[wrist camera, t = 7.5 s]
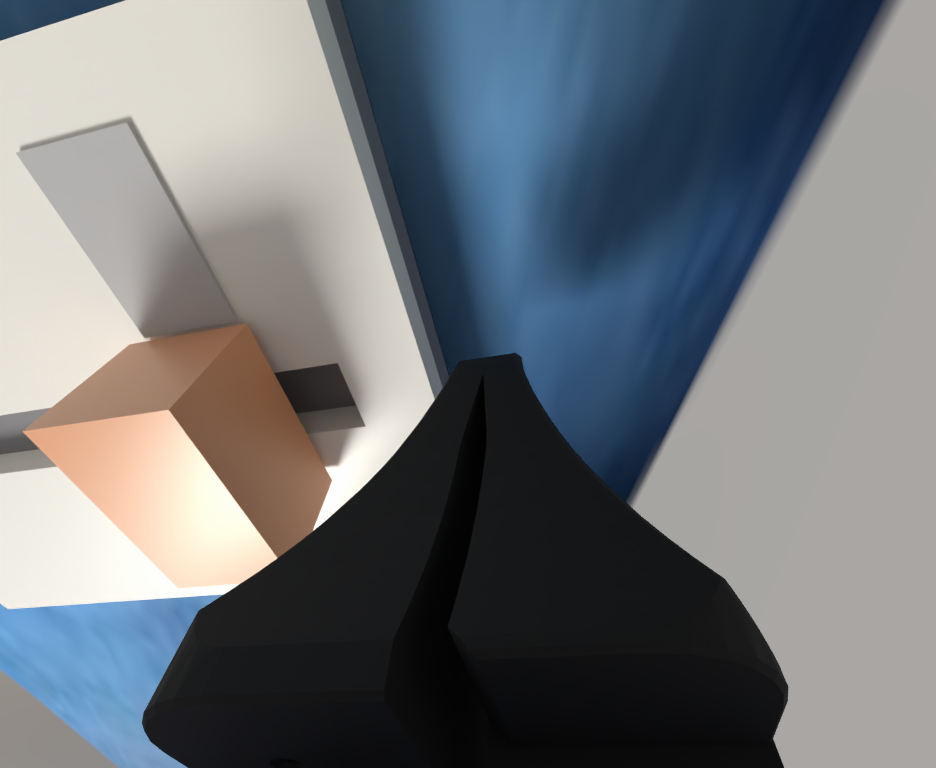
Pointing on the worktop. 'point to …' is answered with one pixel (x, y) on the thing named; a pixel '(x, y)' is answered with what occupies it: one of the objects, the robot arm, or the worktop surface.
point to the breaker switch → (191, 455)
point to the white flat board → (195, 250)
